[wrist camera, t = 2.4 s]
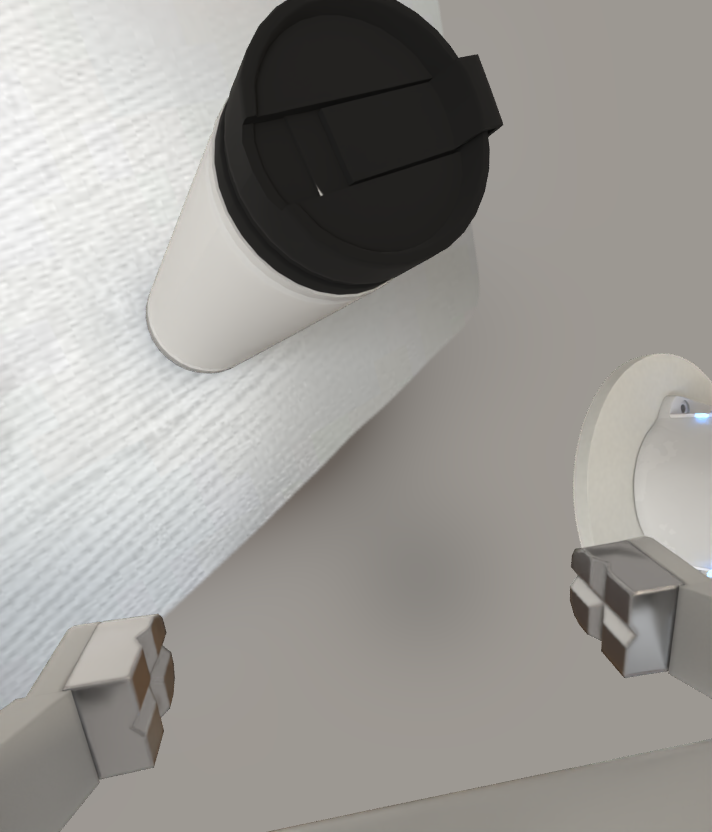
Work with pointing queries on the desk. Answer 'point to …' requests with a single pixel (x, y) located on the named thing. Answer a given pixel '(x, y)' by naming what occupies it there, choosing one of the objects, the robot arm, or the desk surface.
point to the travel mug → (321, 178)
